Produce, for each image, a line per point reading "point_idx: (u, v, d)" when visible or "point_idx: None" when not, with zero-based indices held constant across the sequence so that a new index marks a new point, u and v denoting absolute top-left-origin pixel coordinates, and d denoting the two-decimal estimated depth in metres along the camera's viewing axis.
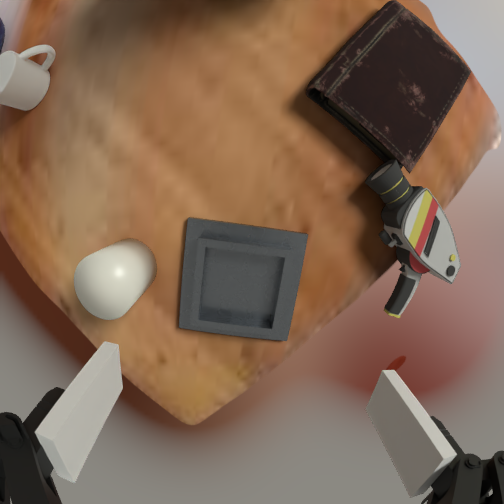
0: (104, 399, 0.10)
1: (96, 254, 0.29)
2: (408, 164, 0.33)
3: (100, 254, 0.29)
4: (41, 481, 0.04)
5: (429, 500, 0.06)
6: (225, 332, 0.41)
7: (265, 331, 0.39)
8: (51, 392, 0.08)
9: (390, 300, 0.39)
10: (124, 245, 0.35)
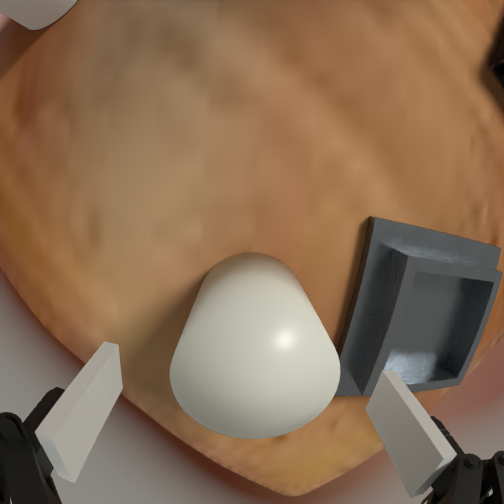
0: (104, 399, 0.10)
1: (251, 310, 0.12)
2: None
3: (265, 310, 0.12)
4: (41, 481, 0.04)
5: (429, 500, 0.06)
6: None
7: (450, 382, 0.21)
8: (51, 392, 0.08)
9: None
10: (271, 272, 0.17)
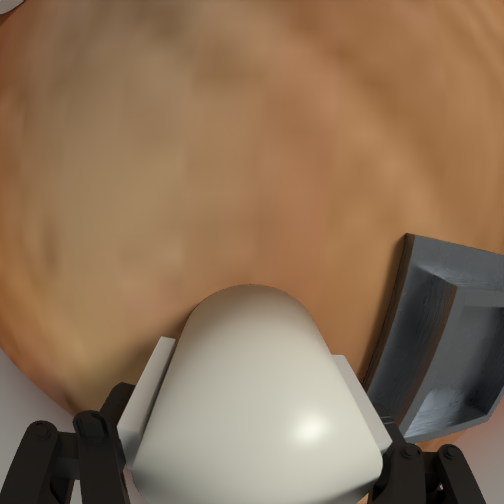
0: None
1: (253, 422, 0.06)
2: None
3: (277, 421, 0.06)
4: (119, 480, 0.05)
5: (370, 492, 0.07)
6: None
7: (479, 420, 0.15)
8: (117, 387, 0.10)
9: None
10: (280, 322, 0.11)
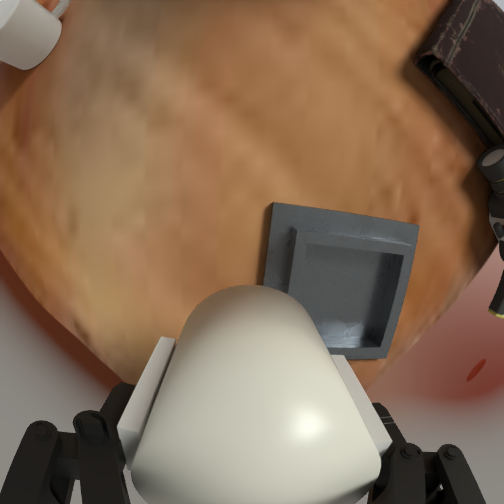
0: None
1: (251, 422, 0.06)
2: None
3: (275, 422, 0.06)
4: (119, 480, 0.05)
5: (370, 492, 0.07)
6: None
7: (373, 350, 0.27)
8: (117, 387, 0.10)
9: (495, 299, 0.28)
10: (279, 323, 0.11)
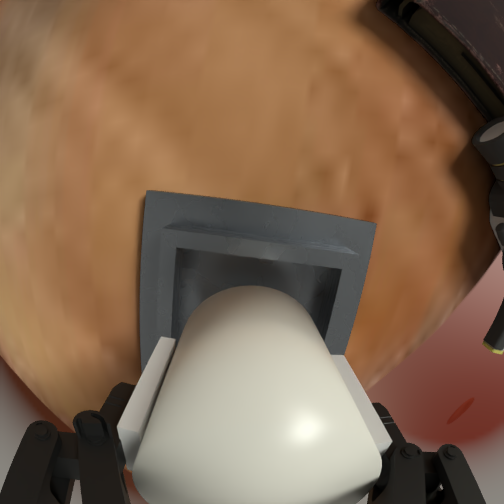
0: None
1: (253, 423, 0.06)
2: None
3: (277, 423, 0.06)
4: (119, 480, 0.05)
5: (370, 492, 0.07)
6: None
7: None
8: (117, 387, 0.10)
9: (493, 330, 0.20)
10: (280, 323, 0.11)
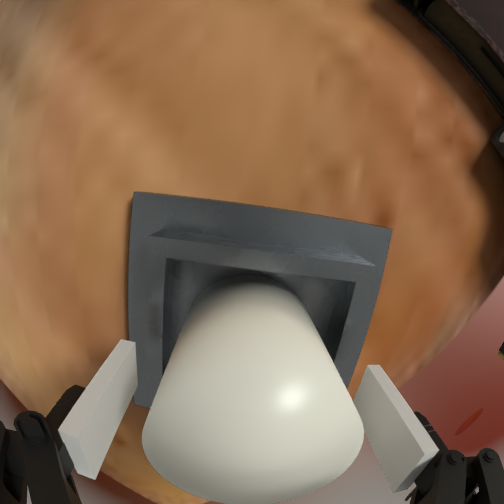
0: (122, 396, 0.11)
1: (247, 379, 0.08)
2: None
3: (267, 379, 0.08)
4: (63, 480, 0.05)
5: (413, 497, 0.07)
6: None
7: None
8: (70, 390, 0.09)
9: None
10: (273, 305, 0.13)
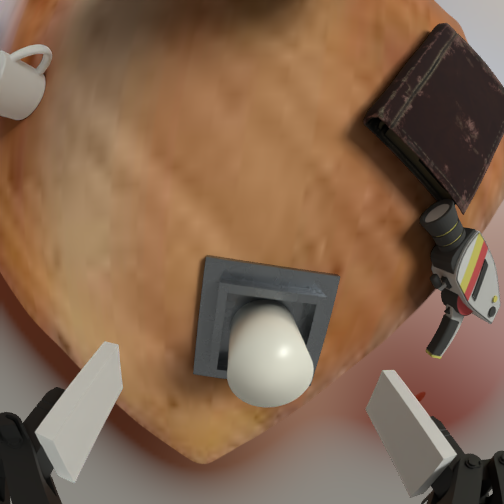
0: (104, 399, 0.10)
1: (270, 338, 0.24)
2: (463, 205, 0.29)
3: (277, 338, 0.24)
4: (41, 481, 0.04)
5: (429, 500, 0.06)
6: None
7: None
8: (51, 392, 0.08)
9: (433, 342, 0.35)
10: (277, 315, 0.30)
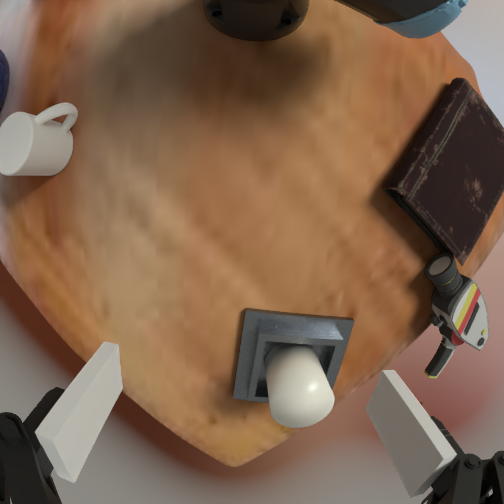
0: (104, 399, 0.10)
1: (304, 382, 0.31)
2: (462, 259, 0.35)
3: (309, 382, 0.31)
4: (41, 481, 0.04)
5: (429, 500, 0.06)
6: None
7: None
8: (51, 392, 0.08)
9: (430, 365, 0.41)
10: (306, 357, 0.36)
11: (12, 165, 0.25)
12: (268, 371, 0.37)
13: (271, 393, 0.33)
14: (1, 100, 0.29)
